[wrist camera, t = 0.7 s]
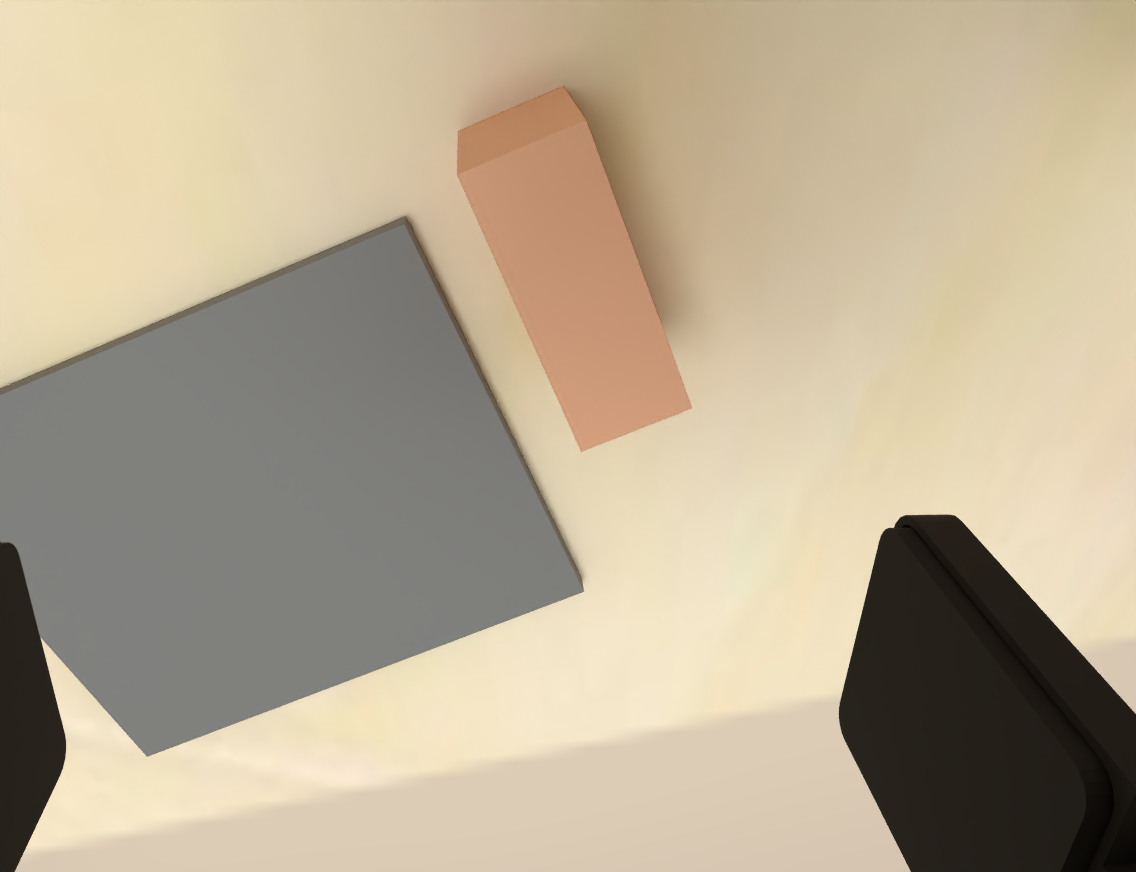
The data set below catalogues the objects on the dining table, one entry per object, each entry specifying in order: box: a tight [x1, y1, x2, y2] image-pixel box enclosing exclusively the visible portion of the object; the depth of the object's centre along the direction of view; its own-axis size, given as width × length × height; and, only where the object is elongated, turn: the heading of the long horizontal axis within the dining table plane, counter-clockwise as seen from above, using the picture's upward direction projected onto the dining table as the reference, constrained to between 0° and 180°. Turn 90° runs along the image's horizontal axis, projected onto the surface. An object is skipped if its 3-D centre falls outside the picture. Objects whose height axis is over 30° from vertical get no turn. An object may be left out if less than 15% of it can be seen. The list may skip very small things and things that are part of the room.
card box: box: [457, 86, 692, 452], centre depth 32 cm, size 4×10×7 cm, turn 21°
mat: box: [0, 217, 584, 757], centre depth 39 cm, size 22×18×1 cm
